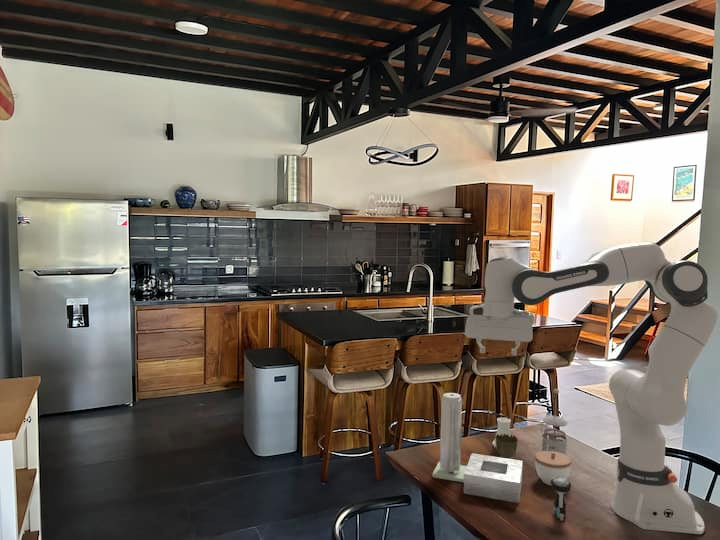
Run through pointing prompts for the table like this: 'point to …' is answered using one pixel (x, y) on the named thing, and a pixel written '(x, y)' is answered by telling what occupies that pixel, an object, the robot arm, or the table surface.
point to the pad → (455, 477)
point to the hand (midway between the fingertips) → (498, 353)
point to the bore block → (493, 477)
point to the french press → (554, 433)
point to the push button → (560, 495)
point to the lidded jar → (552, 465)
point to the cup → (506, 445)
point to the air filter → (450, 433)
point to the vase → (502, 427)
